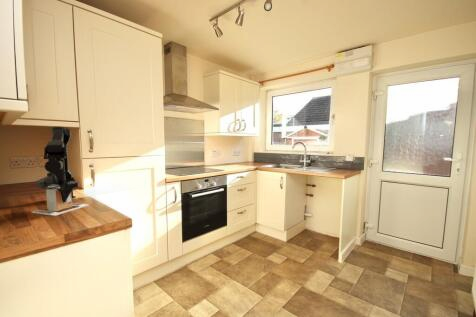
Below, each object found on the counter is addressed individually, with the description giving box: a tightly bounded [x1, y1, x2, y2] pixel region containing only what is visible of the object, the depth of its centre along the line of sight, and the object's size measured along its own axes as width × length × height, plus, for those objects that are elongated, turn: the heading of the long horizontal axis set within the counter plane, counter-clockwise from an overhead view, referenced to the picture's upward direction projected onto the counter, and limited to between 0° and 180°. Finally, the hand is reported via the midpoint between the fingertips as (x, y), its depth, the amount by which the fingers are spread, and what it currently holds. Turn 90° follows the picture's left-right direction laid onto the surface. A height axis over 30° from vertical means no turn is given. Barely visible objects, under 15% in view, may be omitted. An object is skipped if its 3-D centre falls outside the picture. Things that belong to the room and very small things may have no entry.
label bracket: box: [30, 202, 90, 217], centre depth 107 cm, size 16×16×1 cm
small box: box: [45, 187, 73, 212], centre depth 107 cm, size 8×6×10 cm
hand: (59, 201), depth 107 cm, fingers closed on small box, 6 cm apart
